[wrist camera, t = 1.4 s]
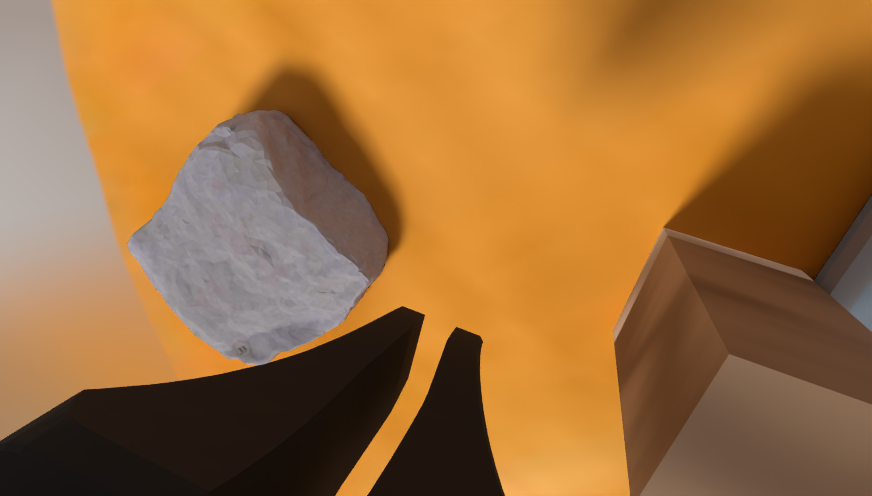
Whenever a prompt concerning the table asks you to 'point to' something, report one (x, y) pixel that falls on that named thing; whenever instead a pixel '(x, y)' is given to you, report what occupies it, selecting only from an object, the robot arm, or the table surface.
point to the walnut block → (741, 378)
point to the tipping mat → (852, 269)
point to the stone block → (261, 240)
